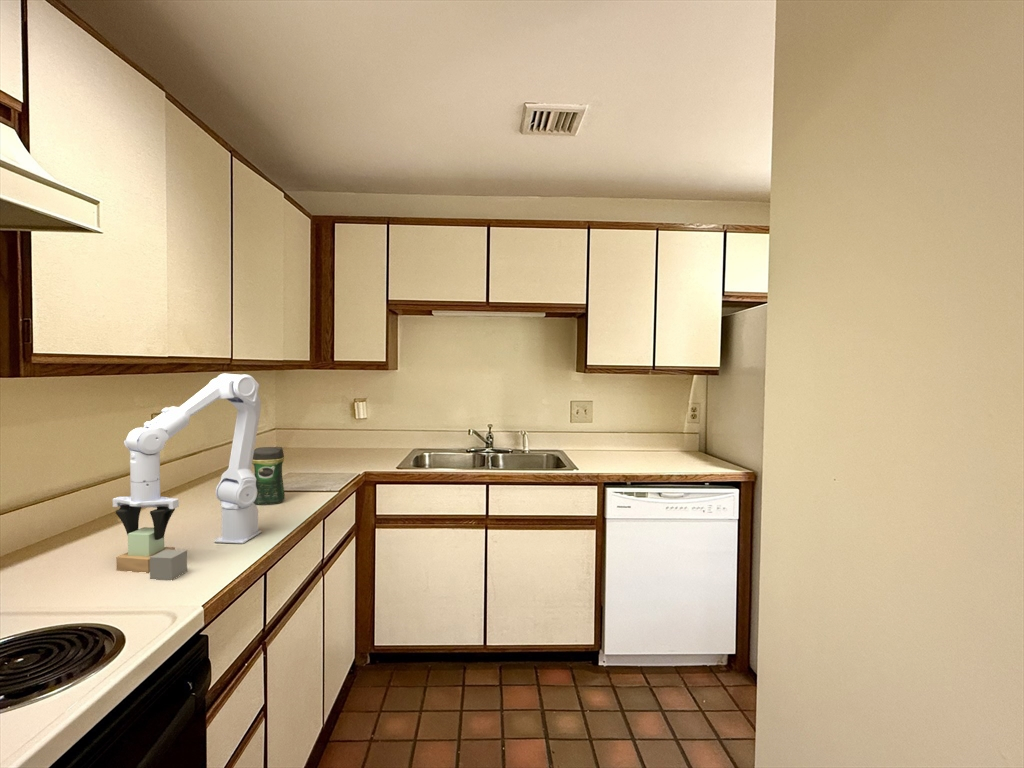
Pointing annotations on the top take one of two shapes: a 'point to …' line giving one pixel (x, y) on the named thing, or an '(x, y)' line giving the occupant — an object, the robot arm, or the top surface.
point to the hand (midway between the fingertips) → (146, 537)
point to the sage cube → (144, 542)
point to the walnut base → (135, 562)
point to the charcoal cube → (168, 564)
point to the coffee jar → (268, 475)
